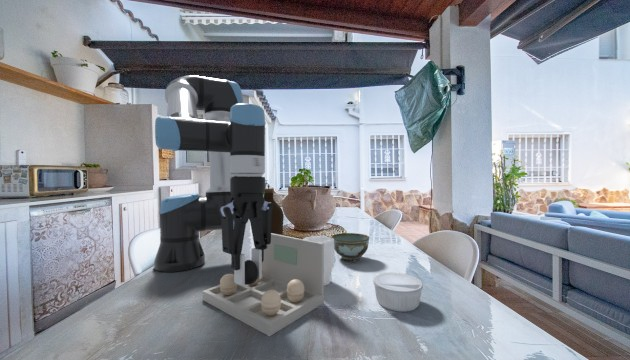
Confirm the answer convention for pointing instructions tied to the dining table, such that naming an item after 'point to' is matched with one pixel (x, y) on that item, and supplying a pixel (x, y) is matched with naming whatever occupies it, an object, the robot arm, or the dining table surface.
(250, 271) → the egg
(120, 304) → the dining table surface
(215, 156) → the robot arm
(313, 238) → the cup
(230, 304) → the carton
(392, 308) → the ramekin
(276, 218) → the olive oil
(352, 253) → the bowl
